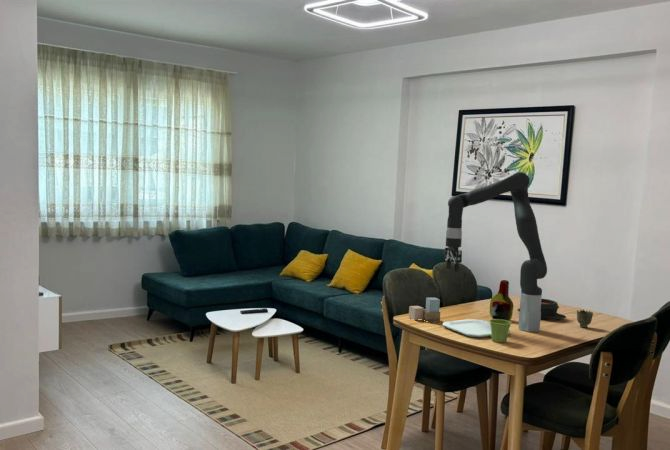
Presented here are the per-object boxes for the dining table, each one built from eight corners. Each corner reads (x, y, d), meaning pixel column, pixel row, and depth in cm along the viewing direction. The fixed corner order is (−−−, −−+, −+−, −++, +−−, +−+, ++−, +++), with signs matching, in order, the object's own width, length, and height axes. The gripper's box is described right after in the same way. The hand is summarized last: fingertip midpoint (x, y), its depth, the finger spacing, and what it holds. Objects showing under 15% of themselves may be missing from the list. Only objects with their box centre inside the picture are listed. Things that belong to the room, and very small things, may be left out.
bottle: (514, 320, 303) (517, 281, 302) (508, 322, 299) (511, 282, 297) (493, 316, 312) (496, 277, 310) (486, 317, 307) (489, 278, 305)
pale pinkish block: (422, 320, 295) (423, 307, 294) (414, 320, 292) (415, 308, 292) (417, 317, 299) (417, 305, 298) (408, 318, 297) (409, 306, 296)
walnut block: (439, 322, 292) (440, 312, 291) (425, 322, 290) (426, 312, 290) (434, 319, 298) (435, 309, 298) (421, 319, 297) (421, 309, 297)
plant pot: (484, 341, 261) (486, 321, 261) (491, 336, 269) (493, 317, 269) (506, 345, 256) (507, 325, 256) (512, 341, 264) (514, 321, 263)
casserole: (572, 319, 314) (573, 303, 314) (555, 324, 301) (557, 307, 301) (527, 310, 332) (528, 294, 331) (510, 314, 319) (511, 298, 318)
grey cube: (439, 312, 292) (439, 299, 292) (429, 312, 291) (430, 299, 290) (435, 309, 297) (435, 297, 296) (425, 309, 296) (426, 297, 295)
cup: (583, 325, 302) (585, 309, 301) (595, 329, 295) (596, 312, 295) (572, 325, 299) (573, 309, 299) (583, 329, 292) (584, 313, 292)
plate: (437, 326, 284) (437, 322, 284) (477, 322, 296) (478, 318, 296) (472, 340, 262) (472, 335, 262) (514, 336, 274) (515, 331, 274)
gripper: (467, 238, 291) (465, 272, 292) (454, 236, 304) (452, 268, 305) (453, 238, 289) (451, 272, 290) (440, 235, 302) (439, 268, 303)
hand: (452, 270), depth 297 cm, fingers open, 8 cm apart
